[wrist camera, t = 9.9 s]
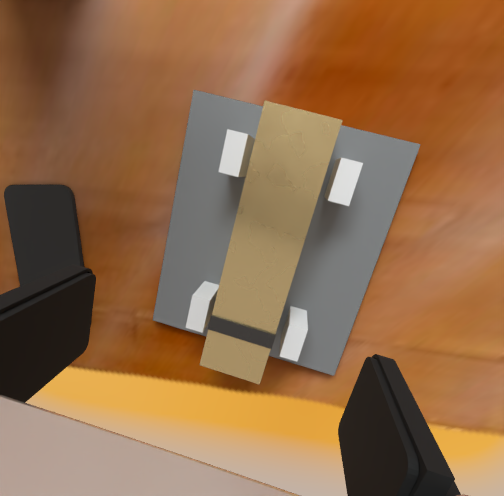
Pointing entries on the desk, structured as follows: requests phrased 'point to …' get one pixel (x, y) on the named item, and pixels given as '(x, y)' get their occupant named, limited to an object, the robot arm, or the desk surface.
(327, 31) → the desk surface
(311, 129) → the tan long bar
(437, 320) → the desk surface
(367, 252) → the peg plate
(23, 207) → the phone
